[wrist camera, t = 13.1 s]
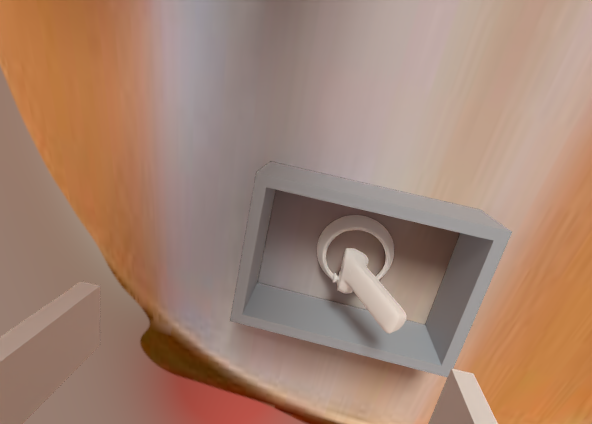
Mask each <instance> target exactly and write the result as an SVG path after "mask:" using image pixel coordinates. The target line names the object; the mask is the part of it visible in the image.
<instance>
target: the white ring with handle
mask: <svg viewBox="0 0 592 424" xmlns="http://www.w3.org/2000/svg"><path fill="white" fill-rule="evenodd" d="M350 230H362V231H365V232H368V233H370V234H372V235H374V236H375V237H376V238H377V239H378V240H379V241H380V242H381V243H382V245H383V247H384V250H385V256H386V260H385V264H384V267H383V268H382V270H381V271H380V272H379V273H378V274H377V275H376V276H374V275H373V274H372V272H371V271H370V270H369V269H368V268H367V267H366V266H367V265H368V257H367V256H366V255H365V254H364V253H362V252H360V251H359V250H357V249H354V248H346V250H345V252H344V255H343V259H342V265H341V269H340V272H339V274H338V276H336V273H334V274H333V273H332V272H331V271H330V269H329V268H328V265H327V262H326V252H327V249H328V246H329V244H330V243H331V241H332V240H333V239H334V238H335V237H336V236H338V235H339V234H341V233H343V232H346V231H350ZM316 252H317V259H318V262H319V264H320V266H321V268H322V270H323V271H324V272H325V274H326V275H327V276H328V277H329V278H331V279H332V280H333V282H336V283H337V290H338V291H340V292H342V293H344V294H347V293H352V292H354V293H355V294H356V295H357V297H358V298H359V299H360V301H361V302H362V303H363V305H364V306H365V307H366V308H367V310H368V311H369V312H370V314H371V315H372V316H373V318H374V319H375V320H376V321H377V323H378V324H379V325H380V326H381V328H382V329H383V330H384V331H385V332H386V333H389V334H390V333H392V332H394V331H397V330H399V329H400V328H401V327H402V326H403V324H404V323H405V321H406V313H405V311H404V310H403V309H402V307H401V306H400V305H399V304H398V302H397V301H396V300H395V299H394V298H393V297H392V295H391V294H390V293H389V292H388V291H387V290H386V288H385V287H384V286H383V285H382V284H381V283H380V281H379V280H380V279H381V278H382V277H383V276H384V275H385V274H386V273H387V271H388V270H389V268H390V267H391V264H392V262H393V258H394V243H393V240H392V237H391V235H390V234H389V232H388V231H387V229H386V228H385V227H384V226H383V225H382V224H380V223H379V222H378V221H376V220H374V219H372V218H370V217H366V216H362V215H348V216H344V217H341V218H339V219H337V220H335V221H333V222H332V223H330V224H329V225H328V226H327V227H326V228H325V229H324V230H323V232H322V233H321V235H320V237H319V240H318V243H317V250H316Z"/></svg>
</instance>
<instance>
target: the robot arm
mask: <svg viewBox="0 0 592 424" xmlns="http://www.w3.org/2000/svg"><path fill="white" fill-rule="evenodd" d="M99 346H100V285H95V284H91V283H87V282H83V281H80V282H79V283H78V284H76V285H75V286H73V287H72V288H70V289H69V290H67V291H66V292H65V293H63V294H62V295H61V296H59V297H57V298H56V299H54V300H53V301H52V302H50V303H49V304H47V305H46V306H44V307H43V308H41V309H40V310H39V311H37V312H36V313H34V314H33V315H31V316H30V317H28V318H27V319H26V320H24V321H22V322H21V323H20V324H18V325H17V326H15V327H14V328H12V329H11V330H9V331H8V332H7V333H5V334H4V335H2V336H1V337H0V424H23V423H24V422H25V421H26V420H27V419H28V417H30V416H31V414H32V413H33V412H35V411H36V410H37V409H38V408H39V406H40V405H41V404H42V403H43V402H44V401H45V400H46V399H47V398H48V397H49V396H50V395H51V394H52V393H53V392H54V391H55V390H56V389H57V388H58V387H59V386H60V385H61V384H62V383H63V382H64V381H65V380H66V379H67V378H68V377H69V376H70V375H71V374H72V373H73V372H74V371H75V370H76V369H77V368H78V367H79V366H80V365H81V364H82V363H83V362H84V361H85V360H86V359H87V358H88V357H89V356H90V355H91V354H92V353H93V352H94V351H95V350H96V349H97V348H98V347H99ZM429 424H498V423H497V421H496V419H495V417H494V415H493V413H492V411H491V409H490V407H489V405H488V403H487V401H486V399H485V397H484V395H483V392H482V390H481V388H480V386H479V384H478V382H477V380H476V378H475V376H474V374H473V373H469V372H464V371H460V370H456V369H452V368H451V371H450V373H449V375H448V378H447V380H446V383H445V385H444V387H443V390H442V392H441V395H440V397H439V399H438V402H437V404H436V407H435V409H434V412H433V414H432V416H431V419H430V421H429Z"/></svg>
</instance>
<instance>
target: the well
mask: <svg viewBox="0 0 592 424" xmlns="http://www.w3.org/2000/svg"><path fill="white" fill-rule="evenodd" d="M276 190H280V191H284V192H289V193H293V194H297V195H301V196H306V197H310V198H314V199H318V200H323V201H327V202H331V203H335V204H340V205H344V206H348V207H352V208H357V209H361V210H365V211H369V212H374V213H378V214H382V215H386V216H391V217H395V218H399V219H403V220H408V221H412V222H416V223H420V224H425V225H429V226H433V227H437V228H442V229H446V230H450V231H455V232H459V233H460V235H459V238H458V240H457V243H456V246H455V248H454V251H453V253H452V256H451V259H450V261H449V264H448V267H447V269H446V272H445V274H444V277H443V280H442V282H441V285H440V287H439V290H438V293H437V295H436V298H435V301H434V303H433V306H432V308H431V311H430V314H429V316H428V319H427V321H426V324H425V325H424V324H420V323H416V322H412V321H408V320H406V321H405V323H404V324H403V326H402V327H401V328H400V329H399V330H397V331H394V332H392V333H390V334H389V333H386V332H385V331H384V330H383V329H382V328H381V326H380V325H379V324H378V323H377V321H376V320H375V319H374V318H373V316H372V315H371V314H370V312H369V311H368V310H365V309H361V308H357V307H353V306H349V305H345V304H341V303H337V302H333V301H329V300H325V299H321V298H317V297H313V296H309V295H305V294H301V293H297V292H293V291H289V290H285V289H281V288H277V287H273V286H269V285H265V284H261V283H258V277H259V272H260V267H261V262H262V257H263V252H264V247H265V242H266V237H267V232H268V227H269V222H270V216H271V211H272V206H273V201H274V196H275V191H276ZM511 233H512V231H510V230H509V229H507V228H506V227H505V226H503V225H502V224H500V223H499V222H497V221H496V220H495V219H493V218H492V217H490V216H489V215H488V214H486V213H485V212H483V211H482V210H479V209H475V208H471V207H466V206H462V205H458V204H453V203H449V202H445V201H440V200H436V199H432V198H427V197H423V196H419V195H414V194H410V193H406V192H401V191H397V190H393V189H388V188H384V187H380V186H375V185H371V184H367V183H362V182H358V181H354V180H349V179H345V178H341V177H336V176H332V175H328V174H323V173H319V172H315V171H310V170H306V169H302V168H297V167H293V166H289V165H284V164H280V163H276V162H271V161H270V162H269V163H268V164H266V165H265V166H264V167H262V168H261V169H260V170H258V171H257V172H256V176H255V181H254V187H253V193H252V199H251V204H250V210H249V216H248V221H247V227H246V233H245V238H244V244H243V250H242V255H241V261H240V267H239V273H238V278H237V284H236V290H235V295H234V301H233V307H232V312H231V318H230V321H232V322H236V323H239V324H243V325H247V326H251V327H255V328H259V329H263V330H267V331H270V332H274V333H278V334H282V335H286V336H290V337H294V338H297V339H301V340H305V341H309V342H313V343H317V344H321V345H325V346H328V347H332V348H336V349H340V350H344V351H348V352H352V353H355V354H359V355H363V356H367V357H371V358H375V359H379V360H383V361H386V362H390V363H394V364H398V365H402V366H406V367H410V368H413V369H417V370H421V371H425V372H429V373H433V374H437V375H441V376H444V377H448V375H449V373H450V371H451V368H452V369H453V368H454V365H455V363H456V361H457V358H458V356H459V354H460V351H461V349H462V347H463V344H464V342H465V340H466V338H467V335H468V333H469V331H470V328H471V326H472V324H473V321H474V319H475V317H476V314H477V312H478V310H479V307H480V305H481V303H482V300H483V298H484V296H485V294H486V291H487V289H488V287H489V284H490V282H491V280H492V277H493V275H494V273H495V270H496V268H497V266H498V263H499V261H500V259H501V256H502V254H503V252H504V249H505V247H506V245H507V243H508V240H509V238H510V236H511Z"/></svg>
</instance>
